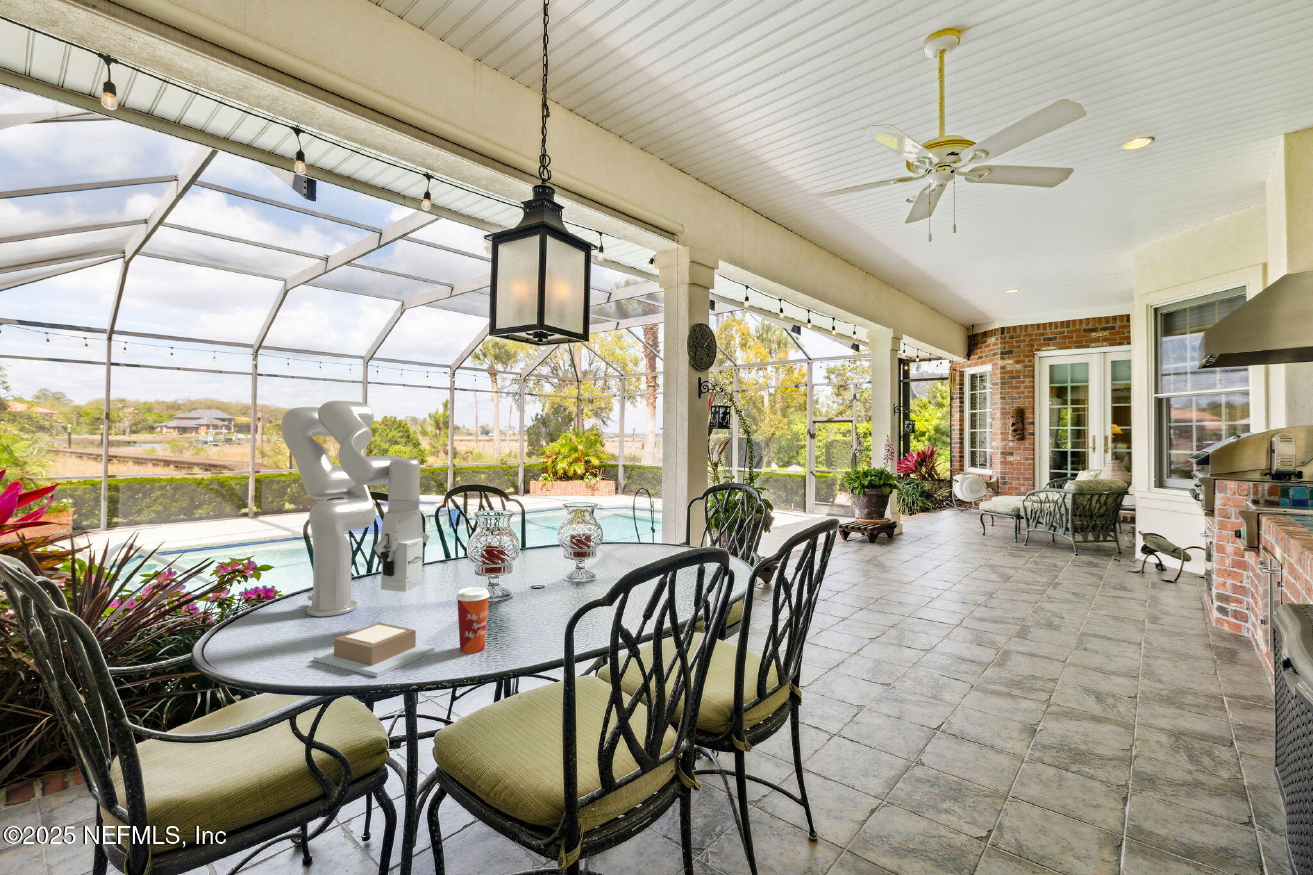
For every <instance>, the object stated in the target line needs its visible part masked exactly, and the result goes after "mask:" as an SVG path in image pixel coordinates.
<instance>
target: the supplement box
mask: <svg viewBox="0 0 1313 875" xmlns="http://www.w3.org/2000/svg"><path fill="white" fill-rule="evenodd" d="M386 546H388V548H391V546H390V543H389V542H388V543H387V544H386V545H385V546H384V547H386ZM384 550H385V548H384V549H383V551H384ZM389 553H390V551H388V555H389ZM423 553H424V549H423V538H420V539H415V540H410V541H405V542H401V543H400V544H399V549H398V551H396V553H395V555H394V557H393V559H392V561H394V575H393V576H391V577H390V576H385V575H383V560H381V571H380V572H381V573H380V575H381V576H380V590H384V591H392V592H401V593H406V592H407V591H410V590H412V589H415V588H416V587H418V586H419V587H420V586H422V583H423V582H422V581H423V580H422V578H423V556H424V555H423Z"/></svg>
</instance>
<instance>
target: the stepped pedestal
mask: <svg viewBox="0 0 1313 875" xmlns="http://www.w3.org/2000/svg"><path fill="white" fill-rule="evenodd" d="M416 632H417V630H416V629H411V628H406V627H401V626H397V625H393V624H389V623H383V622H377V623H374V624H372V625H369V626H365V627H362V628H360V629H357V630H354V631H352V632H349V633H347V634H343V635H341V636H338V637H335V638H334V639H333V648H332V649H330V650H328V651H324V652H322V653H319V654H317V655H314V656H313V661H314V662H316V661H318V662H317V663H320V662H321V664H324V663H326V664H325V665H328V664H329V666H332V665H333V666H332V667H335V666H336V667H335V668H339V667H341V668H340V669H343V670H347V669H348V671H351V670H352V671H351V672H354V671H355V673H358V672H359V674H363V675H366V676H371V677H373V676H375V677H374V678H380V677H381V676H384V675H386V674H387V673H388V674H389V673H390V672H392V671H394V670H396V669H398V668H401V667H403V666H406V665H408V664H410V663H412V662H414V661H416V660H419V659H421V658H423V657H426V656H427V655H430V654H432V653H434V652H436V647H435V646H433V645H427V644H423V643H418V642H416V639H417V637H416V636H417V635H416V634H417V633H416Z"/></svg>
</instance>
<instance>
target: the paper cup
mask: <svg viewBox="0 0 1313 875" xmlns="http://www.w3.org/2000/svg"><path fill="white" fill-rule="evenodd" d="M489 597H490V593H489V591H488V589H487V588H486V587H480V586H478V587H477V586H474V587H473V586H471V587H470V586H469V587H466V588H465V587H464V588H461V589H460V590H458V592H457V595H456V597H455V598H456V601H457V614H458V615H457V617H458V620H457V621H458V636H459V650H460V652H461V653H463V654H468V655H469V654H478V653H480V652H483V651H484V650H485V647H486V638H487V637H486V636H487V624H488V607H489V606H488V605H489Z"/></svg>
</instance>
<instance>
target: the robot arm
mask: <svg viewBox="0 0 1313 875" xmlns="http://www.w3.org/2000/svg"><path fill="white" fill-rule="evenodd" d="M374 418H375V416H374V411H373V410H372V407H370V405H368V404H366V402H361V401H354V400H353V401H350V400H349V401H347V400H330V401H327V402H324V403H323V404H321V406H319V407H315V406H313V407H312V406H300V407H294V408H291V409H289V410H287V411H285V413H284V414H283V416H282V419H281V423H280V424H281V425H280V427H281V428H280V430H281V436H282V438H283V441H284V444H285V446H286V447H287V449H288V450H289V451H290V453H291V456H292V457H293V458H294V461H295V463H296V468H297V469H298V473H299V475H300V479H301V481H302V485H303V487H304V490H305V492H306V494H307V495H308V497H309V498H311V499H313V500H323V501H319V502H318V503H316V504H314V505H313V506H312V508H311V509H310V511H309V515H308V518H309V519H308V520H309V525H310V530H311V531H310V532H311V535H312V545H313V546H312V547H313V548H312V551H313V554H312V555H313V556H312V557H313V558H312V560H313V562H312V563H313V565H312V567H313V568H312V569H313V571H312V575H313V577H312V580H313V582H312V583H313V584H312V586H313V587H312V588H313V589H312V590H313V591H312V593H311V594H309V595H308V596H307V600H308V601H311V605H309V606H308V607H307V608H306V614H307V615H309V616H312V617H332V616H340V615H342V614H343V615H344V614H346V613H350V612H353V611H354V610H356V609H357V608H358V603H357V601H356V600H353V599H352V545H351V543H350V541H349V540H348V539H347V537H346V536H345V534H344V533H346V532H350V531H356V530H363V529H365V528H369V527H371V526H372V525H373V524H374V523H375V521H376V517H377V516H376V514H377V513H376V512H377V511H376V507H375V503H374V501H373V497H372V494H371V492H370V490H369V486H376V485H377V486H378V485H388V487H387V488H388V489H387V490H388V491H387V495H388V496H387V511H385V512H384V514H383V519H382V525H381V530H380V531H381V533H380V540H379V541H377V543H376V544H374V546H373V549H374V551H375V552H376V554H377V556H378V557H379V558H380V560H381V561H382V560H383V575H385V576H390V577H391V576H393V575H394V561H392V559H393V557H394V555H395V553H396V551H398V549H399V544H400V543H401V542H405V541H410V540H415V539H420V538H423V550H424V549H425V548H426V547H427V543H428V541H429V539H430V535H429V534H428V533H426V532H424V530H423V528H424V527H423V517H422V512H421V509H420V504H421V503H422V500H421V499H420V492H421V490H420V487H421V486H420V484H421V463H420V461H419V460H418V459H416V458H413V457H412V458H410V457H402V456H399V455H376V456H375V455H372V456H371V455H370V456H364V455H363V454H362V453H361V451H362V450H364V448H366V447H367V446H369V444H370V443H371V441H372V438H373V433H372V430H371V429H370V428H371V426H373V424H374V420H375V419H374ZM314 437H332V438H334V440H335V441H336V442H337V443H338V444H339V448H338V462H339V464H340V465H336V464H333V462H332V461H331V459H330V455H329V453H328V451H327V449H326V448H325V447H324V446H323V445H322V444H321V443H320V442H319V441H317V440H316V438H315V439H314ZM327 499H328V500H327ZM388 542H389V543H390V546H391V548H388V546H386V547H384V546H385V545H386V544H387V543H388ZM384 548H385V550H384V551H383V549H384ZM388 551H390V553H389V555H388Z"/></svg>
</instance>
